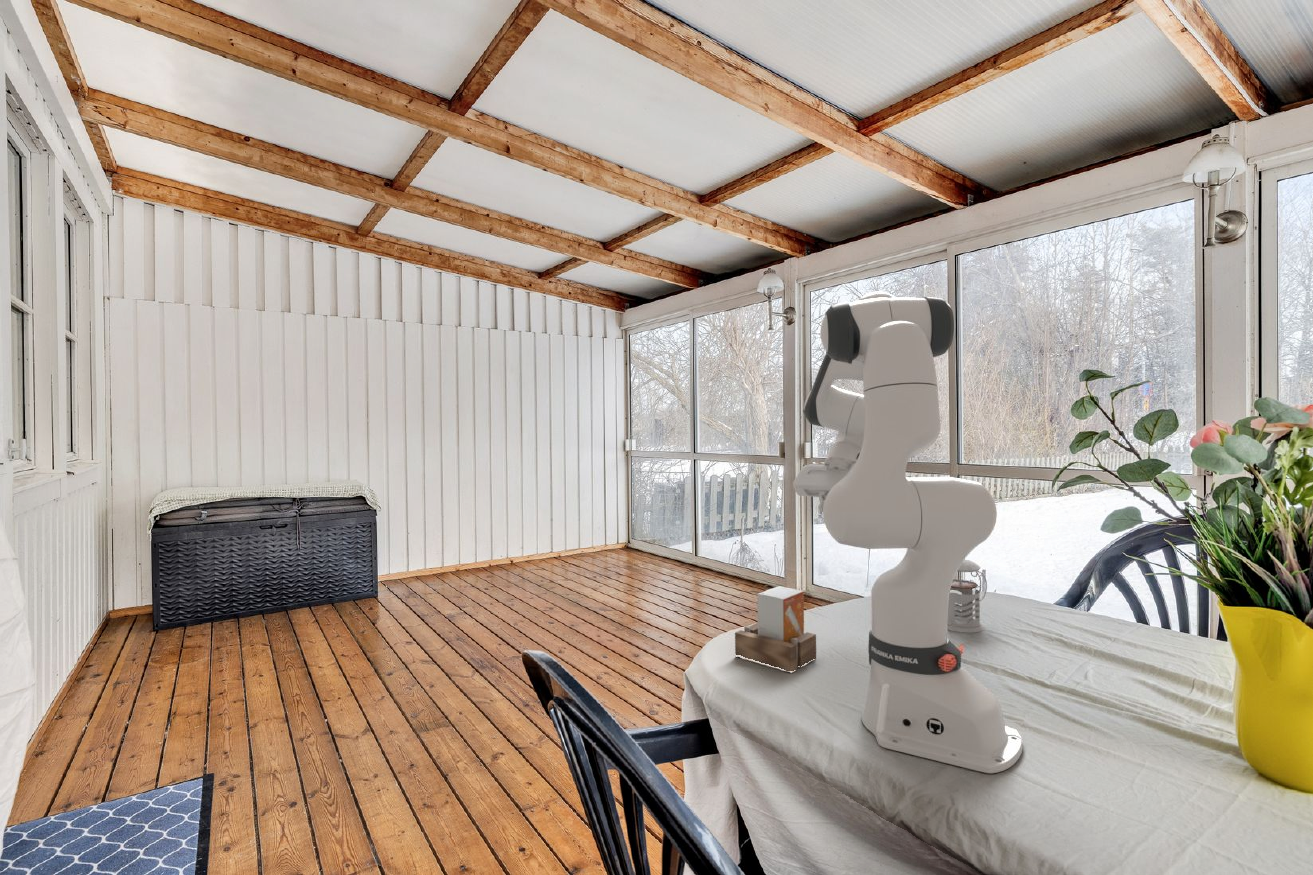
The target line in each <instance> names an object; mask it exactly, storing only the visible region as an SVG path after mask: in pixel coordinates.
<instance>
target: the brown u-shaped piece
mask: <svg viewBox="0 0 1313 875" xmlns="http://www.w3.org/2000/svg"><path fill="white" fill-rule="evenodd" d="M734 647H735V648H734V653H735V654H736V655H741V656H743V657H745V658H748V659H753V660H755V661H759V662H761V663H765V664H769V665H771V666H774V667H779V668H781V669H784V670H786V671H794V670H796V669H797V670H798V668H799V667H798V666H800V667H801V666H802V665H804V664H805V663H808V662H809V661H811V660H813V659H815V660H817V634H816V633H812V632H808V631H807V632H804V634H803V635H801V636H799V637H797V638H792V639H791V643H788V642H784V641H780V640H776V639H773V638H769V637H765V636H761V635H758V622H756V623H754V624H752V625H747V626H746V625H745V626H744V630H738V631H736V632H735V633H734ZM735 654H734V655H735ZM797 667H798V668H797Z"/></svg>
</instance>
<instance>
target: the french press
mask: <svg viewBox="0 0 1313 875" xmlns="http://www.w3.org/2000/svg"><path fill="white" fill-rule="evenodd" d="M980 569H981V566H980V565H979V564H977V563H976V562H973V561H972V560H968V559H966V558H965V559H964V561H963V562H962V563H961V565H960V567H959V568H958V570H957V572H956V573H958V572H959V578H957V579H956V578H954V579H953V581H952V585H951V588H950V591H957V592H960V593H961V594H959V593H957V592H950V593H949V603H948V620H947V631H948V630H949V631H952V632H958V633H970V634H971V633H979V632H983V631H984V630H985V628H986V627H985V626H984V625H983V624H982V623H981V620H980V618H981V617H980V616H981V614H980V613H981V612H980V611H981V608H980V607H981V606H980V605H981V604H980V602H982V601H983V600H984V599H985V596H986V593H987V590H988V582H987V581H988V580H987V579H986V575H984V573H983V572H981V571H980ZM974 572H975V575H973V573H974ZM962 573H970V576H972V577H974V578H977V577H978V580H979V584H978V583H977V582H974V581H972V580H966V579H965V580H964V579H962ZM980 574H981V575H982V577H983V579H984V583H985V588H984V590H985V591H984V593H983V595H982V598H980V592H981V590H982V579H981V575H980ZM978 586H979V589H976V588H978ZM973 593H974V594H973ZM973 607H974V608H973Z"/></svg>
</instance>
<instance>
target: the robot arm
mask: <svg viewBox="0 0 1313 875" xmlns="http://www.w3.org/2000/svg"><path fill="white" fill-rule="evenodd" d="M955 333H956V320H955V316H954V312H953V309H952V306H951V305H950V304H949V303H948V301H946V300H945V299H943V298H938V297H933V296H923V298H919V297H896V296H894V295H892V293H891V294H890V293H888V292H885V291H873V292H869V293H865V294H864V295H862V296H861V297H859V298H858V299H857V300H856V301H852V302H849V301H843V302H839V303H836V304H832V305H830V306H829V308H828V309H827V310H826V311H825V313H824V317H823V320H822V322H821V326H820V333H819V334H820V342H821V344H822V347H823V348H824V350H825V355H824V358H823V359H822V361H821V364H820V367H819V369H818V372H817V375H816V377H815V380H814V383H813V385H812V388H811V389H810V391H809V392H808V395H807V396H806V399H805V401H804V405H803V414H804V417H805V418H806V420H807V421H808V422H809V423H810V425H812V426H817V427H822V428H827V429H831V430H833V431H836V432H837V434H836V438H835V441H834V443H833V444H832V445H831V447H830V449H829V452H828V453H827V456H826V458H825V459H824V462H815V461H814V462H812V461H811V462H809V463H807V464H805V465H803V467H802V468H801V469H800V471H799V472H798V473H797V475H796V477H795V478H794V480H793V482H792V487H793V490H794V491H795V493H796V494H797V495H798V496H802V497H811V498H818V499H819V504H818V506H817V508H818V509H817V510H819V512H822V515H823V517H822V518H823V522H824V525H825V527H826V530H827V532H828V534H830V536H831V537H832V538H833V540H835V541H836V542H837V544H839V545H844V546H848V547H849V546H850V547H855V548H860V549H861V548H862V549H866V550H876V549H877V550H879V549H881V550H882V549H885V550H886V549H892V550H893V549H906V552H905V555H904V556H903V558H902V560H901V561H900V562H899V563H898V564H896V566H894V567H893V568H890V569H889V570H887V571H885V572H883V573H882V574H880V575H879V576H878V577H877V578H876V580H875V581H874V583H873V585H872V587H871V592H870V593H871V594H870V596H871V597H870V598H871V599H870V600H871V605H870V606H871V612H870V613H871V616H870V617H871V630H870V631H869V632H868V648H867V650H868V652H867V653H868V663H869V665H870V672H869V681H868V688H867V696H866V699H865V704H864V708H863V710H862V714H861V721H862V723H863V725H864V727H865V728H866V729H867V730H869V731H870V733H872V734H873V735H874V736H875V739H876V743H877V745H879V746H880V747H882V748H883V749H887V750H892V751H897V752H900V753H905V754H908V755H913V756H916V757H921V758H925V759H928V760H931V761H932V760H933V761H936V762H940V763H944V764H949V765H953V766H957V767H961V768H963V769H969V770H971V771H972V770H973V771H976V772H982V773H986V774H994V773H995V774H996V773H1000V772H1003V771H1005V770H1007V769H1010V768H1011V767H1012V766H1014V765H1015V763H1017V762H1018V760H1019V759H1020V757H1021V755H1022V752H1023V749H1024V748H1023V747H1024V746H1023V740H1022V739H1023V738H1022V736H1021V735H1020V732H1018V731H1017V729H1014V728H1011V727H1009V726H1006V723H1005V716H1004V712H1003V708H1002V705H1001V702H1000V701H999V698H997V696H996V695H995V694H993V693H992V692H991V691H990V690H989V689H988V688H986V687H985V685H983V684H982V683H980V681H978V680H977V679H976V678H975V677H974V676H972V674H970V673H969V672H968V671H967V670H966V669H965V668H964V667H962V655H963V654H964V644H962V645H960V646H959V647H956V645H955V644H954V643H953V642H952V641H951V639H950V638H949V637H948V629H947V620H948V603H949V593H951V592H950V591H951V590H950V588H951V585H952V581H953V579H955V576H956V575H957V573H958V572H957V570H958V568H959V567H960V565H961V563H962V562H963V561H964V559H965V560H966V558H967V557H968V556H969V554H970V553H971V552H973V550H974V549H975V548H977V547H978V546H979V545H981V544H982V543H984V542H986V541H987V539H988V538H989V537H990V536H991V534H992V532H993V531H994V529H995V526H996V523H997V516H998V512H997V507H996V506H997V505H996V503H995V499H994V498H993V496H992V494H991V492H990V491H989V490H988V489H987V488H986V487H985V485H983V484H982V483H981V482H978V481H975V480H970V479H969V480H968V479H963V478H959V477H953V476H921V477H919V476H918V477H917V476H916V477H913V476H912V477H909V476H906V471H907V465H908V464H909V463H908V462H909V461H910V458H913V457H915V456H917V455H918V454H920V453H922V452H924V451H926V450H928V449H929V448H930V447H932V446H933V445H934V444H935V443H936V441H937V439H938V438H939V436H940V434H941V417H940V416H941V415H940V404H939V402H940V401H939V390H938V379H937V377H938V376H937V371H936V364H935V359H934V358H937V357H940V356H942V355H944V354H946V353H947V352H948V350H949V349H950V348H951V346H952V345H953V341H954V337H955ZM837 380H851V381H860V382H862V383H863V384H862V386H863V390H862V391H863V394H862V393H857V392H853V391H851V390H850V391H849V390H846V389H843V388H840V387H837V386H835V385H834V381H837Z"/></svg>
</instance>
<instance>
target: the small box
mask: <svg viewBox="0 0 1313 875" xmlns="http://www.w3.org/2000/svg"><path fill="white" fill-rule="evenodd" d="M756 598H757V623H758V635H761V636H765V637H769V638H773V639H776V640H780V641H784V642H788V643H791V639H792V638H797V637H799V636H801V635H803V634H805V622H804V621H805V620H804V619H805V603H804V602H805V591H804V590H801V589H795V588H790V587H786V586H782V585H781V586H780V585H778V586H776V587H775V586H774V587H772V588H769V589H766V590H765V591H762V592H759V593H757V597H756Z"/></svg>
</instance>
